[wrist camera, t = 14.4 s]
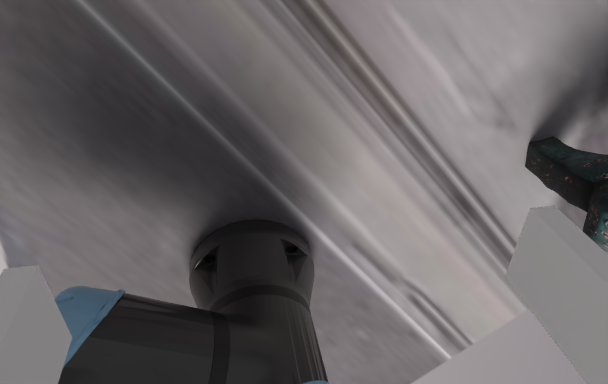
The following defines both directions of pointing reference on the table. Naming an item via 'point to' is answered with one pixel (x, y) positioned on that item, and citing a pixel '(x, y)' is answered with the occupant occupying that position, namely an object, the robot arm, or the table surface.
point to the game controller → (575, 181)
